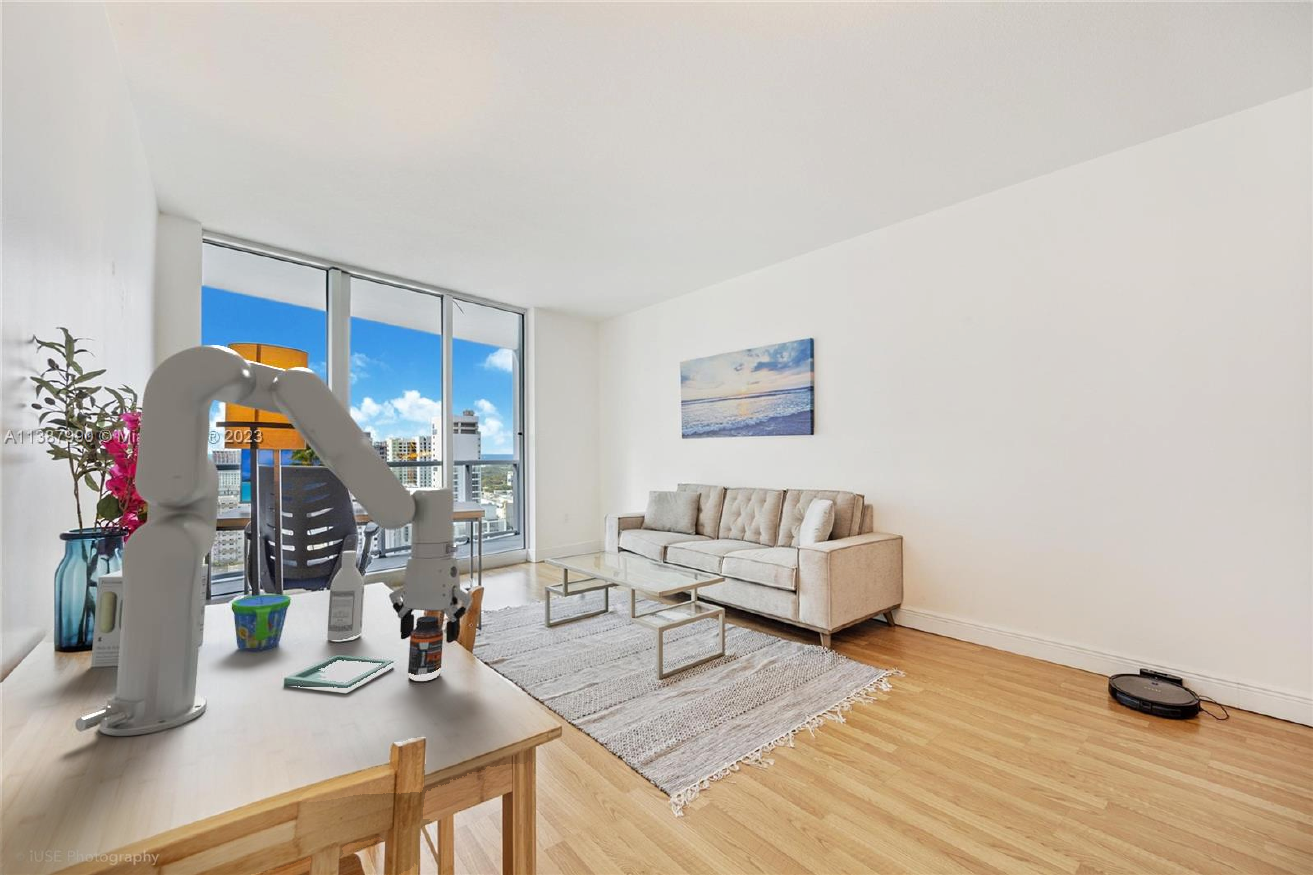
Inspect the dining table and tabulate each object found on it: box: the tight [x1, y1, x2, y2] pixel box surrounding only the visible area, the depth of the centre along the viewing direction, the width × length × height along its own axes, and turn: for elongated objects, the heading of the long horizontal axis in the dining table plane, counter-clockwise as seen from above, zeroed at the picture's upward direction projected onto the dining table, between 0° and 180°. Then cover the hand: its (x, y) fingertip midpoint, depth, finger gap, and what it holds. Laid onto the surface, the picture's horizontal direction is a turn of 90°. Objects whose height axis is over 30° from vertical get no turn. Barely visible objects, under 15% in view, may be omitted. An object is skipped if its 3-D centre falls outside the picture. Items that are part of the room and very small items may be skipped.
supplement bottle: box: [407, 615, 444, 675], centre depth 108 cm, size 6×6×11 cm
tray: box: [283, 654, 395, 688], centre depth 107 cm, size 13×13×2 cm
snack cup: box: [231, 594, 292, 652], centre depth 123 cm, size 16×10×10 cm
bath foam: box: [327, 550, 365, 641], centre depth 130 cm, size 7×7×20 cm
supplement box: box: [90, 563, 209, 668], centre depth 116 cm, size 13×13×18 cm
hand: (429, 638), depth 109 cm, fingers open, 9 cm apart
